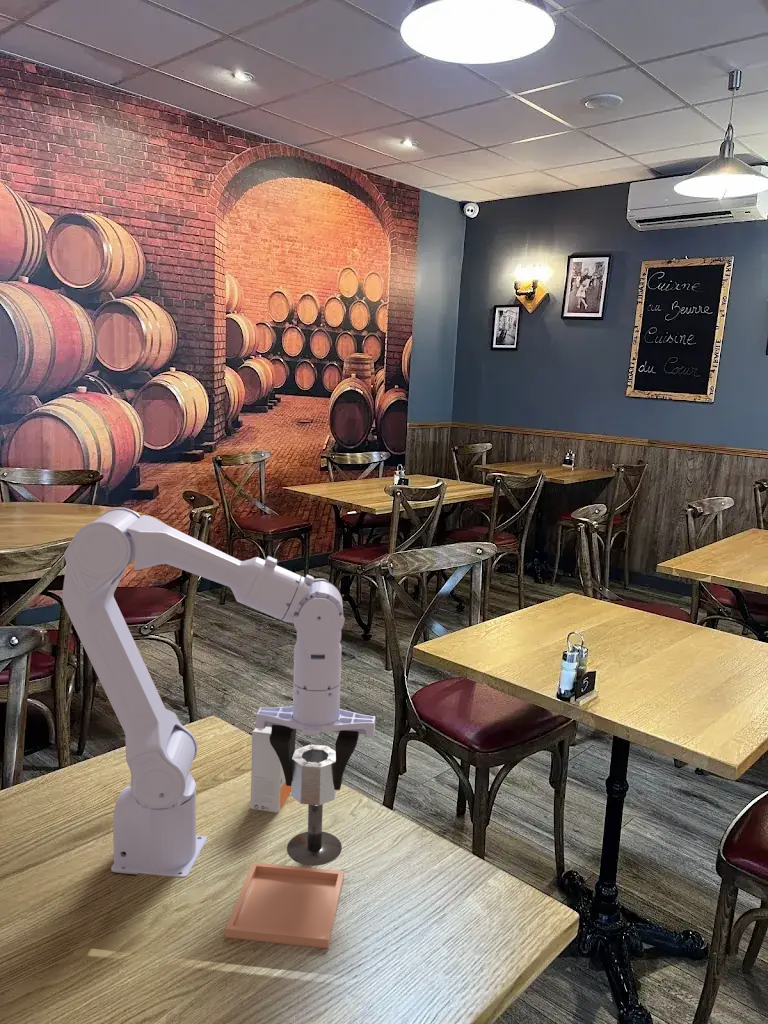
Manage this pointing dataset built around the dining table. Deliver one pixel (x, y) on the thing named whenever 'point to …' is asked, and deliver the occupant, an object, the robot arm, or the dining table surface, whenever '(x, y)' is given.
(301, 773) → the octagonal pencil cup
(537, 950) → the dining table surface
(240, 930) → the tray
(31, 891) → the dining table surface
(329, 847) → the stand
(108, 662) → the robot arm
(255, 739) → the skincare box
